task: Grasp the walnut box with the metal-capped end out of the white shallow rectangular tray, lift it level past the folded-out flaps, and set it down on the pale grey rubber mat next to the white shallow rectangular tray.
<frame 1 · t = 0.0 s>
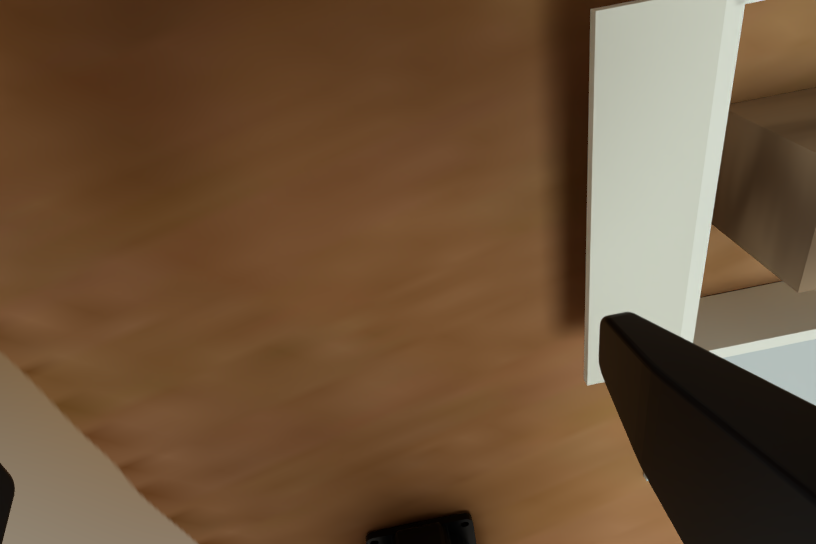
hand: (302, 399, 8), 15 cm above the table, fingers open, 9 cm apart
white shallow rectangular tray: (815, 144, 24), on the table
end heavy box: (814, 144, 24), resting in white shallow rectangular tray
mat: (753, 397, 32), on the table
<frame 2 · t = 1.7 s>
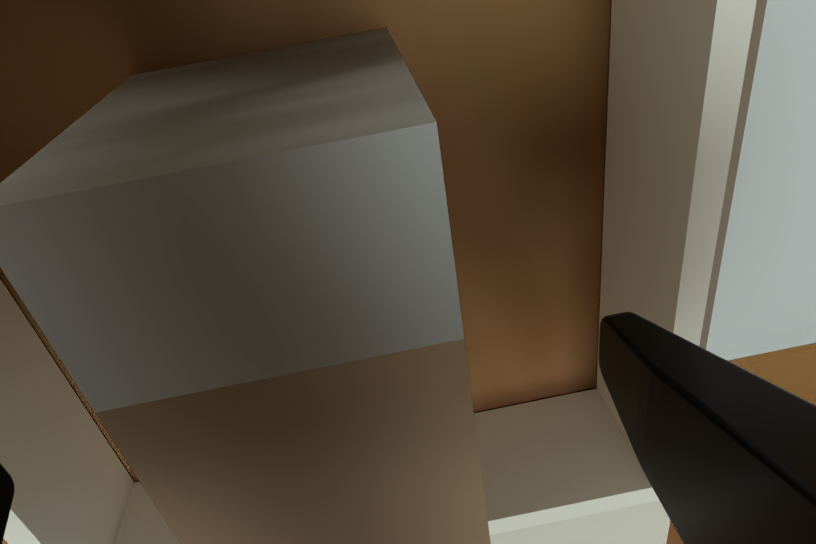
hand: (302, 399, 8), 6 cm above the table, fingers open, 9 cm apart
white shallow rectangular tray: (314, 249, 13), on the table
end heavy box: (314, 248, 13), resting in white shallow rectangular tray
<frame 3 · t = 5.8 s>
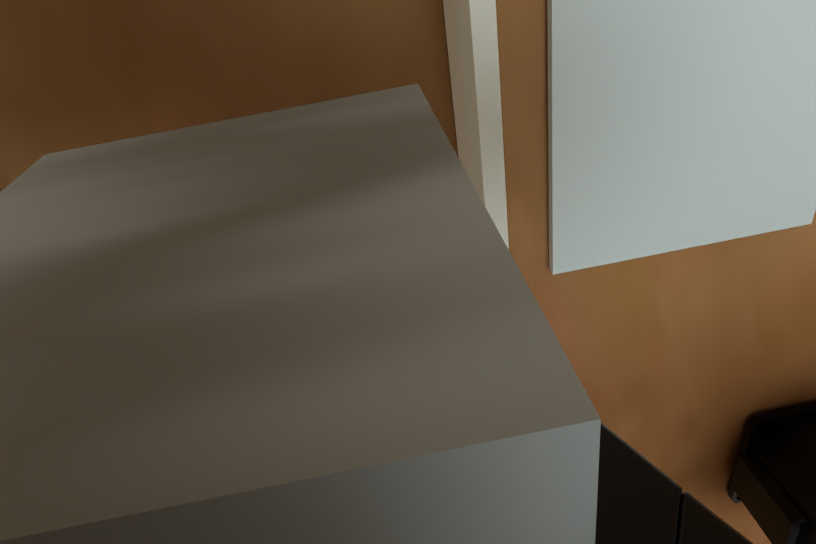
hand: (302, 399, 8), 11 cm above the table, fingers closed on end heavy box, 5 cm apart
white shallow rectangular tray: (236, 171, 18), on the table
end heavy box: (314, 368, 10), point 10 cm above the table, touching gripper
mat: (699, 84, 18), on the table
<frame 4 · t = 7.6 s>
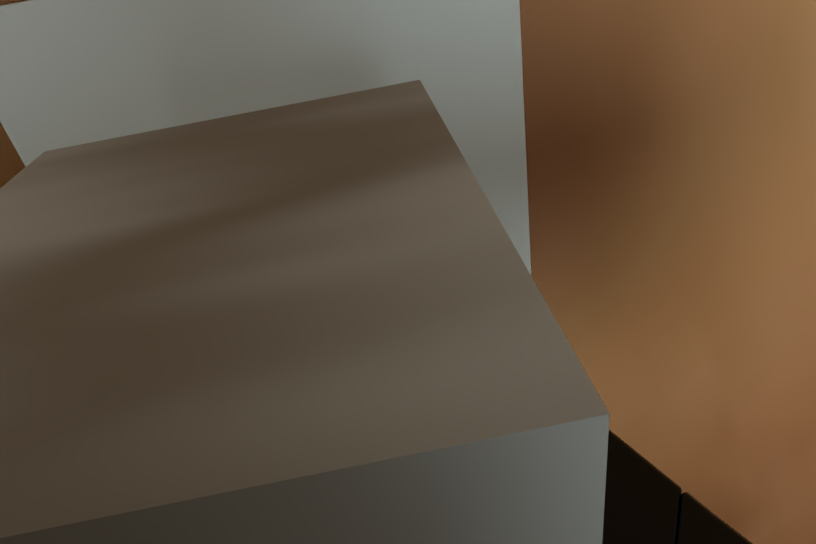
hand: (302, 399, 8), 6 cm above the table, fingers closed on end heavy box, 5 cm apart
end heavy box: (315, 367, 10), point 4 cm above the table, touching gripper
mat: (316, 247, 13), on the table
when the fingers open (3 cm above the table, at t = 8.9 s): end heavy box drops 1 cm, resting on mat.
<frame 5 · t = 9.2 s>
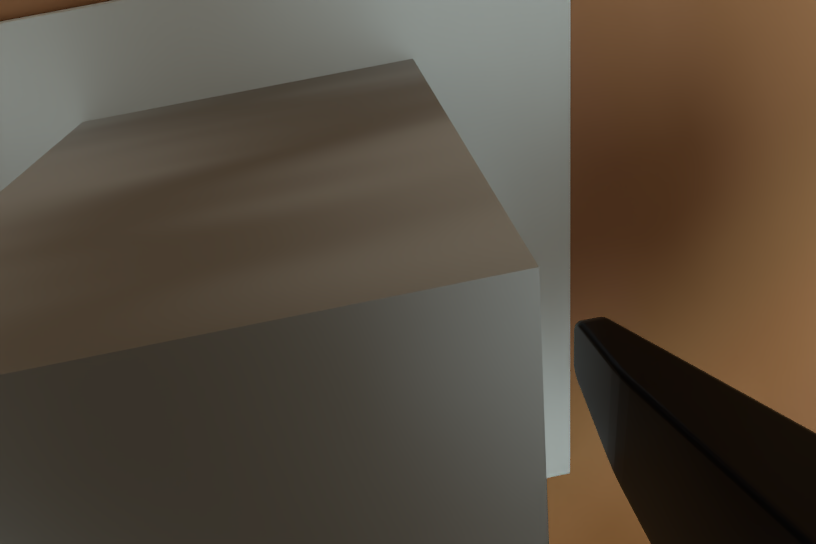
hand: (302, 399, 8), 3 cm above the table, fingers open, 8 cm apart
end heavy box: (320, 324, 11), resting on mat
mat: (317, 315, 11), on the table
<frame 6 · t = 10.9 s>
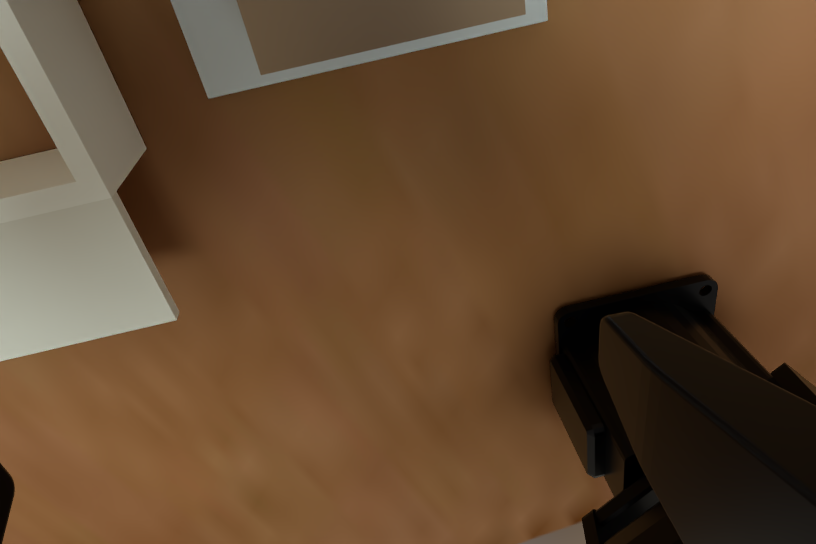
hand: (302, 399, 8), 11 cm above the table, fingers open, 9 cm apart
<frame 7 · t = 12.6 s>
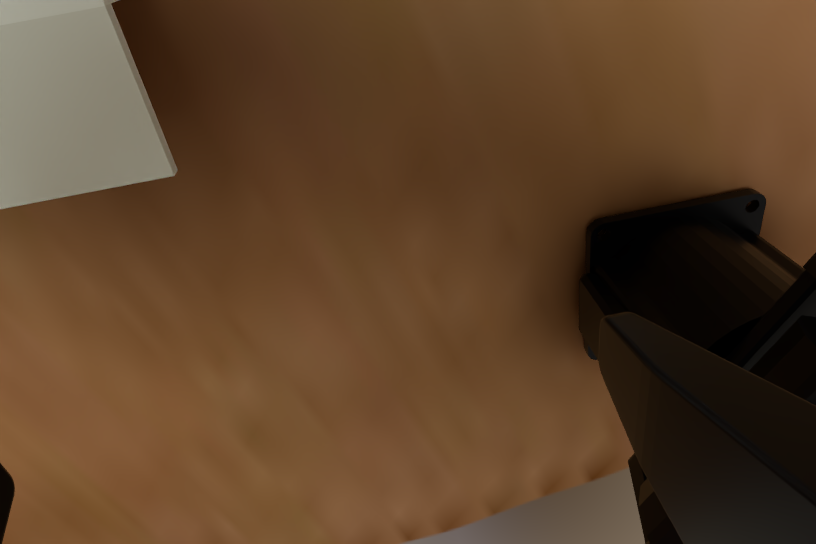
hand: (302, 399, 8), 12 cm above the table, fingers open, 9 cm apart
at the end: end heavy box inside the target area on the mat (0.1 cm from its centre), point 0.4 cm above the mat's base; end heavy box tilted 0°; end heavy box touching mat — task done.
